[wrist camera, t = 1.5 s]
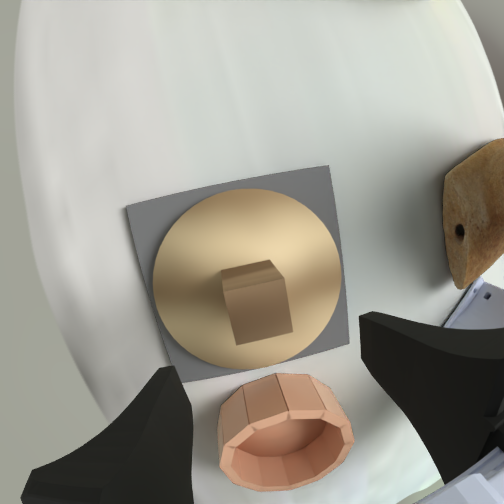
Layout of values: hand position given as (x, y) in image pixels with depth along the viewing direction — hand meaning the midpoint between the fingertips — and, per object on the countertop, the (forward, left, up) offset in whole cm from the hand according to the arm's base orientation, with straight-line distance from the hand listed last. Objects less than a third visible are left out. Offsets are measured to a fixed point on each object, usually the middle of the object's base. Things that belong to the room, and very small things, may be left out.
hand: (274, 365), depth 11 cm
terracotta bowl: (+8, +10, -10) cm, 16 cm away
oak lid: (0, 0, -9) cm, 9 cm away
